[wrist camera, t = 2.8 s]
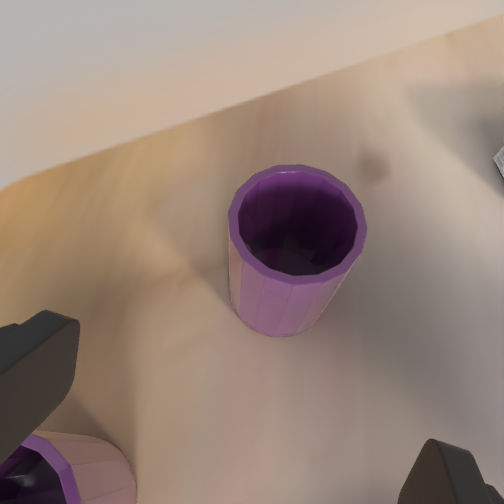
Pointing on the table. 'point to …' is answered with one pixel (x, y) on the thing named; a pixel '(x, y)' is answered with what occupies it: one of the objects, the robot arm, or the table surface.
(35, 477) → the plum cup
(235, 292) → the plum cup
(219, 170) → the table surface
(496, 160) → the medicine box
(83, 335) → the table surface
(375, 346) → the table surface
